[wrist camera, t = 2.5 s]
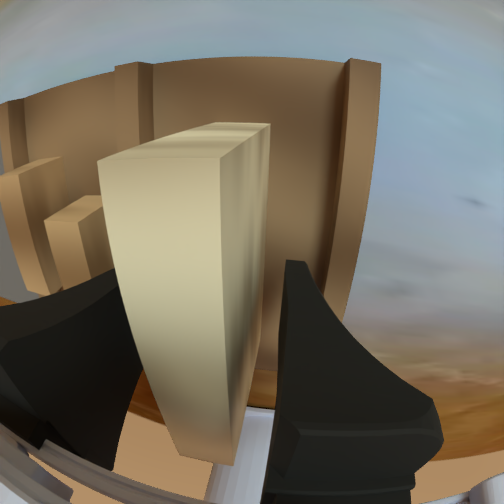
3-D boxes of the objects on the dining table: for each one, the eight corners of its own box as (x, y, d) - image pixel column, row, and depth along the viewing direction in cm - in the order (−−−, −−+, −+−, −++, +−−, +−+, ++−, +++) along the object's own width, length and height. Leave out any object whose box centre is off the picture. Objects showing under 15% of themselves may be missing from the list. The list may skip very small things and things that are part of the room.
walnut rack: (320, 364, 16) (321, 391, 14) (71, 320, 18) (56, 337, 16) (367, 69, 9) (381, 63, 7) (24, 100, 11) (-2, 105, 9)
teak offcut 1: (83, 265, 14) (51, 297, 12) (59, 261, 15) (27, 290, 12) (62, 156, 12) (18, 174, 9) (37, 159, 12) (-5, 177, 9)
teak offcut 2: (138, 305, 15) (112, 342, 12) (108, 299, 15) (80, 334, 13) (118, 195, 12) (77, 222, 10) (85, 195, 12) (43, 220, 10)
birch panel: (260, 338, 15) (233, 466, 9) (221, 332, 15) (179, 455, 9) (270, 123, 10) (219, 158, 4) (215, 122, 10) (96, 161, 4)
